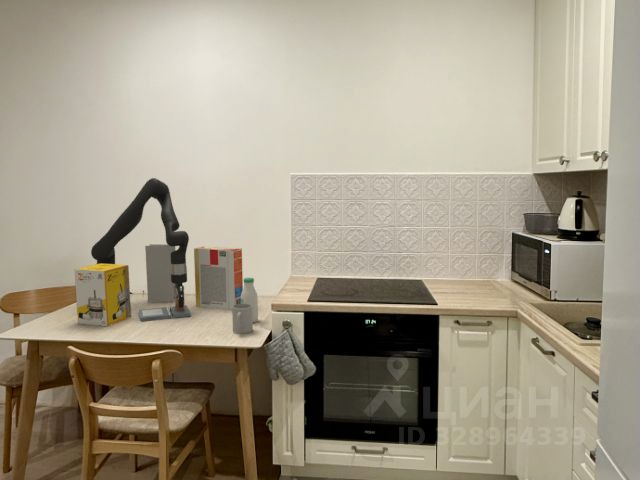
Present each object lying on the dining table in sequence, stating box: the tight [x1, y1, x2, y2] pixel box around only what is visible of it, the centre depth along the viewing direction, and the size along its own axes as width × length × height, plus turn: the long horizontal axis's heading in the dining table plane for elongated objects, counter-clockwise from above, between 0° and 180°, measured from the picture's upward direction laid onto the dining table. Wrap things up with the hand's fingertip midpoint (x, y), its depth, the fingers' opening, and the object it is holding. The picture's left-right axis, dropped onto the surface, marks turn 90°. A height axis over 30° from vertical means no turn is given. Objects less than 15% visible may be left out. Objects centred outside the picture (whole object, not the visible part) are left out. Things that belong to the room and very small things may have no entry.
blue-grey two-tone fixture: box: [169, 297, 192, 319], centre depth 250 cm, size 8×16×8 cm, turn 21°
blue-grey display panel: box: [138, 306, 173, 322], centre depth 246 cm, size 14×16×2 cm
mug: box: [231, 304, 254, 335], centre depth 220 cm, size 12×8×11 cm
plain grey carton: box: [145, 244, 177, 303], centre depth 274 cm, size 14×6×30 cm, turn 84°
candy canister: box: [241, 277, 259, 323], centre depth 235 cm, size 8×8×20 cm
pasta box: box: [193, 245, 244, 311], centre depth 262 cm, size 23×8×30 cm, turn 69°
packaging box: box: [74, 263, 132, 327], centre depth 238 cm, size 16×16×25 cm
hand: (180, 305), depth 250 cm, fingers open, 8 cm apart
